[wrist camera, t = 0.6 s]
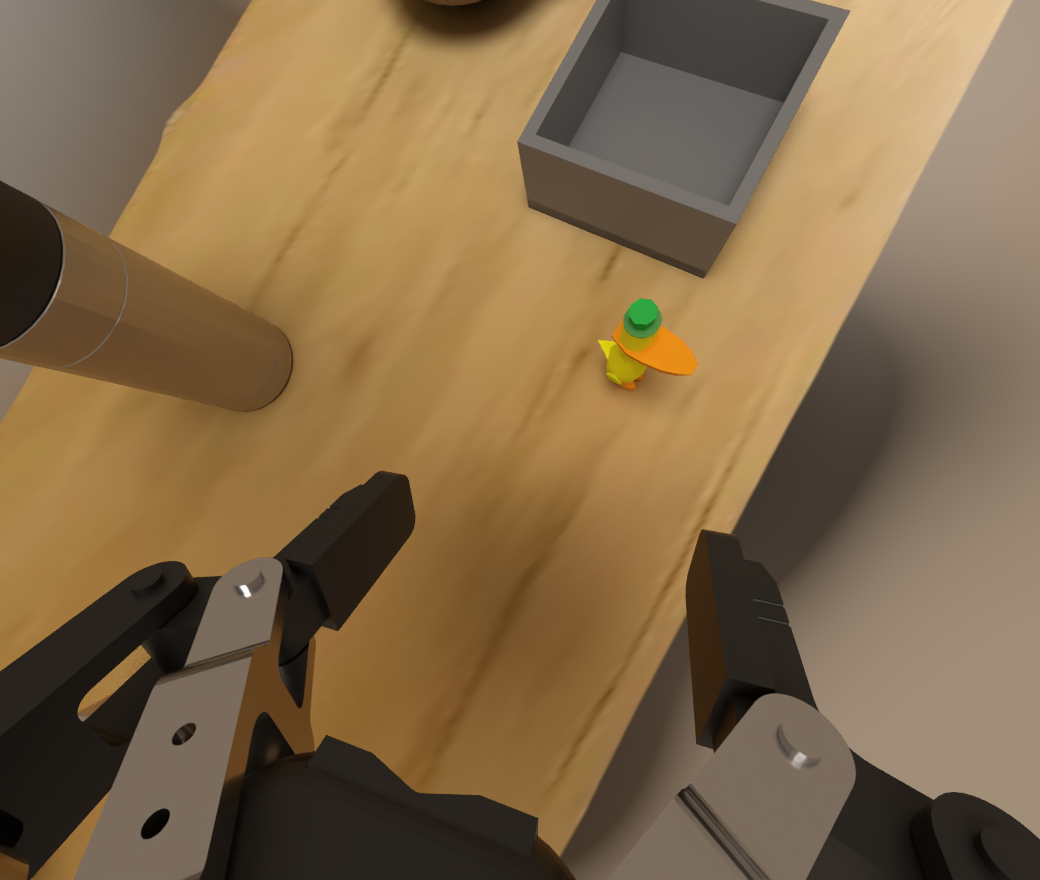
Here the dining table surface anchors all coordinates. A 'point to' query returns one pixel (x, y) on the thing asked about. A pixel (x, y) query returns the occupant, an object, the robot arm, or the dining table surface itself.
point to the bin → (671, 118)
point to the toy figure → (645, 347)
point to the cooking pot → (452, 2)
